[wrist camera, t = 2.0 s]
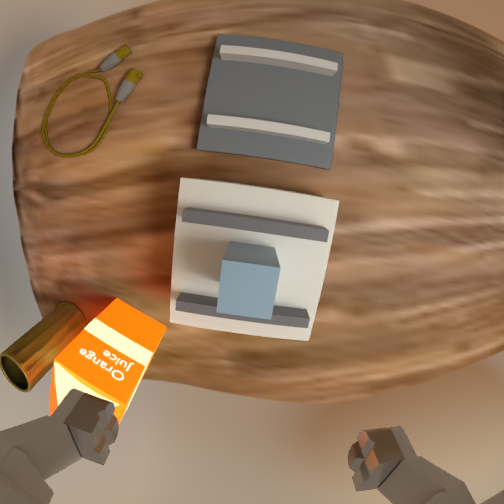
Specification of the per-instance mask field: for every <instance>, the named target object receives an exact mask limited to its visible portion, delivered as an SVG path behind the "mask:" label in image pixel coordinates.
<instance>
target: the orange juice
mask: <svg viewBox="0 0 504 504" xmlns="http://www.w3.org/2000/svg"><path fill="white" fill-rule="evenodd" d="M166 328H167V327H166V326H164V325H162V324H161V323H159V322H157V321H155V320H153V319H152V318H150V317H148V316H146V315H145V314H143V313H141V312H139V311H138V310H136V309H134V308H133V307H131V306H129V305H128V304H126V303H124V302H123V301H121V300H119V299H118V298H116V299H115V300H114V301H113V302H112V303H111V304H110V305H109V306H108V307H107V308H105V309H104V310H103V311H102V312H101V313H100V314H99V315H98V316H97V317H96V318H94V319H93V320H92V321H91V322H90V323H89V324H88V325H87V326H86V327H85V328H84V330H83V331H82V332H81V333H80V334H79V335H78V336H77V337H76V338H75V339H74V340H73V341H72V342H71V343H70V344H69V345H68V346H67V347H66V348H65V349H64V350H63V351H62V352H61V353H60V354H59V355H58V356H57V357H56V358H55V360H54V363H53V371H52V381H51V392H50V415H52V414H53V412H54V411H55V410H56V408H57V407H58V406H59V404H60V403H61V402H62V400H63V399H64V398H65V396H66V395H67V394H68V392H69V391H70V390H72V389H74V388H75V389H77V390H80V391H82V392H85V393H88V394H91V395H93V396H96V397H99V398H101V399H104V400H107V401H110V402H113V403H114V406H115V412H114V415H115V416H116V417H117V419H118V425H119V423H120V421H121V419H122V417H123V415H124V413H125V411H126V410H127V408H128V406H129V404H130V402H131V399H132V397H133V395H134V393H135V391H136V389H137V387H138V385H139V383H140V381H141V380H142V378H143V376H144V374H145V372H146V370H147V368H148V366H149V363H150V361H151V359H152V357H153V355H154V353H155V351H156V349H157V347H158V345H159V343H160V341H161V338H162V336H163V334H164V332H165V330H166Z"/></svg>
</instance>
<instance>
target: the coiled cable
mask: <svg viewBox="0 0 504 504" xmlns="http://www.w3.org/2000/svg"><path fill="white" fill-rule="evenodd" d="M131 53H132V52H131V51H130V48H129V47H128V46H127V45H126V44H125V45H124V46H122V47H121V48H120V49H118V50H117V51H116V50H115V51H114V52H113V53H112V54H109V56H108V57H107V58H106V59H105V61H104V62H103V63H102V64H101V65H100V69H97V70H91V71H87V72H85V73H93V72H98V71H101V70H102V71H103V72H105V71H107V70H109V69H110V68H112V67H114V66H116V65H118V64H119V63H120V62H121V61H123V59H124V58H125V57H127V56H128V55H129V54H131ZM79 77H93V78H98V79H101V80H102V81H104V83H105V84H106V87H107V91H108V97H109V117H108V119H107V121H106V123H105V125H104V126H103V128H102V130H101V132H100V134H99V135H98V137H97V139H96V140H95V141H94V143H93V144H92V145H91V146H90V147H89V148H87V149H86V150H84V151H82V152H79V153H75V154H62V153H59V152H57V151H55V150H54V149H53V148H52V147H51V145H50V143H49V140H48V135H47V122H48V116H49V113H50V110H51V108H52V106H53V104H54V102H55V100H56V99H57V97H58V96H59V95H60V93H61V92H62V91H63V90H64V88H65V87H66V86H67V85H68V84H69V83H70V82H71V81H73V80H75V79H77V78H79ZM142 77H143V74H142V73H141V72H139V71H138V70H135V69H133V68H131V69H130V71H129V72H128V74H127V75H126V77H125V78H124V80H123V81H122V83H121V84H120V87H119V89H118V92H117V95H116V98H115V100H117V102H116V104H115V106H114V108H113V109H112V98H111V92H110V88H109V85H108V82H107V81H106V79H104V78H103V77H101V76H97V75H88V74H79V75H75V76H73V77H71V78H70V79H68V80H67V81H66V82H65V83H64V84H63V85H62V86H61V87H60V88H59V90H58V91H57V92H56V94H55V95H54V97H53V98H52V100H51V102H50V104H49V106H48V108H47V111H46V113H45V116H44V120H43V125H42V136H43V140H44V143H45V145H46V147H47V148H48V149H49V150H50V151H51V152H52V153H54V154H55V155H58V156H61V157H74V156H79V155H84V154H87V153H90V152H91V151H93V150H94V149H95V148H97V147H98V146H99V144H100V143H101V142H102V140H103V139H104V137H105V135H106V133H107V131H108V128H109V125H110V121H111V117H112V115H113V113H114V111H115V109H116V107H117V106H118V104H119V102H121V103H123V101H124V100H125V99H126V98H127V97H128V96H129V95H130V93H131V92H132V91H133V90H134V88H135V86H136V85H137V83H138V82H139V80H140V79H141V78H142ZM44 128H45V134H44ZM105 128H106V129H105ZM104 130H105V132H104ZM103 132H104V134H103ZM102 134H103V136H102V137H101V135H102ZM100 137H101V139H100ZM45 138H46V139H45ZM99 139H100V140H99ZM98 140H99V142H98ZM97 142H98V143H97ZM96 143H97V144H96ZM95 144H96V145H95ZM94 145H95V146H94ZM93 146H94V147H93ZM92 147H93V148H92Z"/></svg>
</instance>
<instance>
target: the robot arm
mask: <svg viewBox="0 0 504 504" xmlns="http://www.w3.org/2000/svg"><path fill="white" fill-rule="evenodd" d="M114 412H115V406H114V403H113V402H110V401H107V400H104V399H101V398H99V397H96V396H93V395H91V394H88V393H85V392H82V391H80V390H77V389H75V388H74V389H72V390H70V391H69V392H68V394H67V395H66V396H65V398H64V399H63V400H62V402H61V403H60V404H59V406H58V407H57V408H56V410H55V411H54V412H53V414H52V415H51V416H50V417H49V416H44V417H41V418H38V419H36V420H33V421H30V422H27V423H24V424H21V425H18V426H15V427H12V428H9V429H6V430H3V431H0V504H49V502H50V500H51V498H52V496H53V491H52V489H51V488H50V487H49V486H48V484H47V483H46V482H45V479H47V478H49V477H51V476H52V475H54V474H56V473H58V472H59V471H61V470H63V469H65V468H66V467H68V466H70V465H71V464H73V463H75V462H76V461H78V460H80V459H81V457H82V458H85V459H88V460H90V461H93V462H96V463H99V464H102V465H104V463H105V461H106V459H107V457H108V455H109V452H110V450H109V447H108V445H110V444H112V443H114V442H115V439H116V437H117V433H118V419H117V417H116V416H115V415H114ZM357 439H358V441H357V442H356V443H354V444H353V445H352V446H351V448H350V450H349V453H348V464H349V468H350V469H352V470H353V471H354V472H355V473H354V475H353V477H352V478H353V482H354V485H355V489H356V491H363V490H370V489H376V488H378V490H379V491H380V492H381V493H382V494H383V495H384V496H385V497H386V498H387V499H388V500H389V501H391V503H393V504H475V502H474V500H473V498H472V496H471V494H470V492H469V490H468V488H467V486H466V485H465V483H464V482H463V481H461V480H459V479H458V478H456V477H454V476H452V475H451V474H449V473H447V472H446V471H444V470H442V469H441V468H439V467H437V466H435V465H434V464H432V463H431V462H429V461H427V460H426V459H424V458H422V457H421V456H420V457H417V455H416V453H415V451H414V449H413V447H412V445H411V443H410V441H409V439H408V437H407V435H406V434H405V432H404V430H403V428H402V427H400V426H397V427H389V428H379V429H370V430H362V431H361V432H360V433H359V434H358V436H357ZM481 504H504V490H502V491H501V492H499V493H498V494H496V495H494V496H493V497H491V498H489V499H488V500H486V501H484V502H483V503H481Z"/></svg>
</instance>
